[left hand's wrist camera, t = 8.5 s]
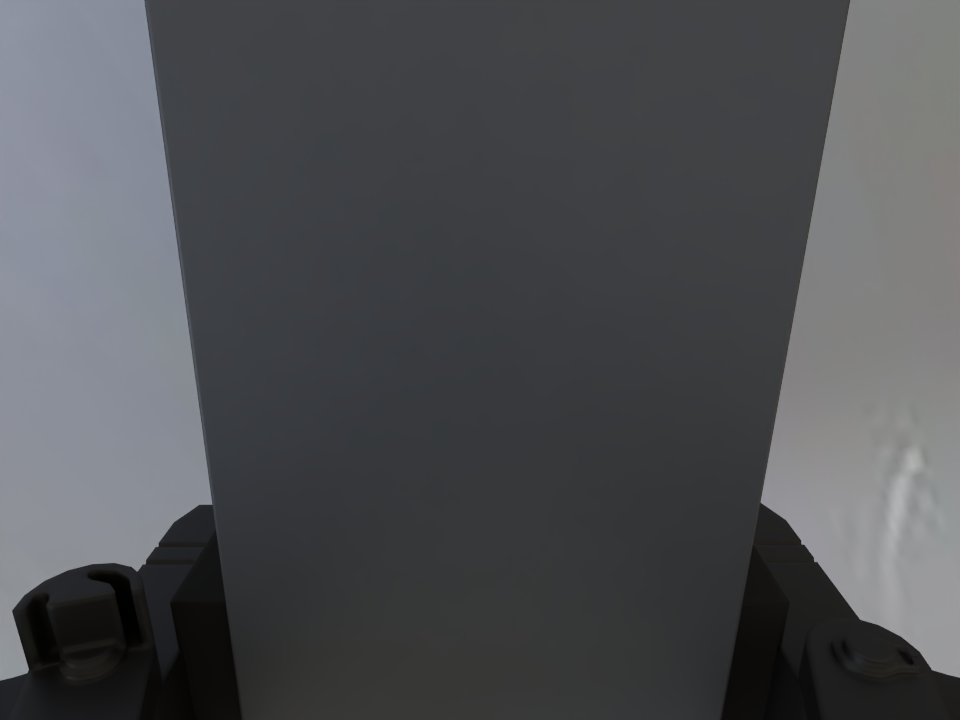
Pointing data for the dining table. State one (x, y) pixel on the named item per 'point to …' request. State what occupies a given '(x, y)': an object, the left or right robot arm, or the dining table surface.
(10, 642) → the dining table surface
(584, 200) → the beam
